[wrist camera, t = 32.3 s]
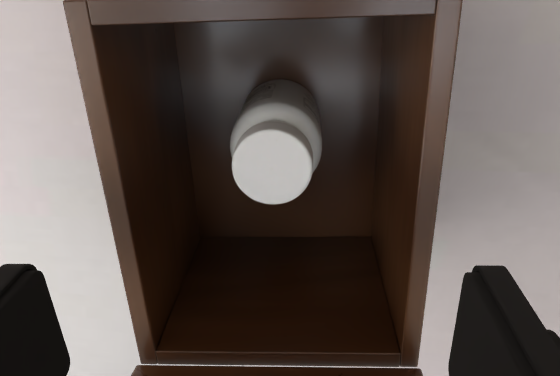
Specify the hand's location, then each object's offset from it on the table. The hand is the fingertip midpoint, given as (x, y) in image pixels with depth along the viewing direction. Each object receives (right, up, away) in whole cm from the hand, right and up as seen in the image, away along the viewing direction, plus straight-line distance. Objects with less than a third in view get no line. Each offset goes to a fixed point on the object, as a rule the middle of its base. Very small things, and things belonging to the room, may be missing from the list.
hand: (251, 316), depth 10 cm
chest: (+1, +6, +17) cm, 18 cm away
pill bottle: (+1, +7, +16) cm, 18 cm away
